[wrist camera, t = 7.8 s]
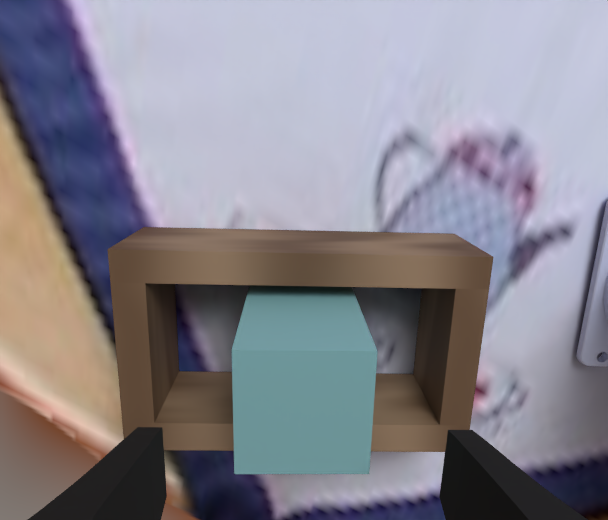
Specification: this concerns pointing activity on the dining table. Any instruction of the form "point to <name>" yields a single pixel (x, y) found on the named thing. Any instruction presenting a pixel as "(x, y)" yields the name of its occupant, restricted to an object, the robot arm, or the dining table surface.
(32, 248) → the dining table surface
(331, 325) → the teal post
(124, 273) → the walnut slot holder
